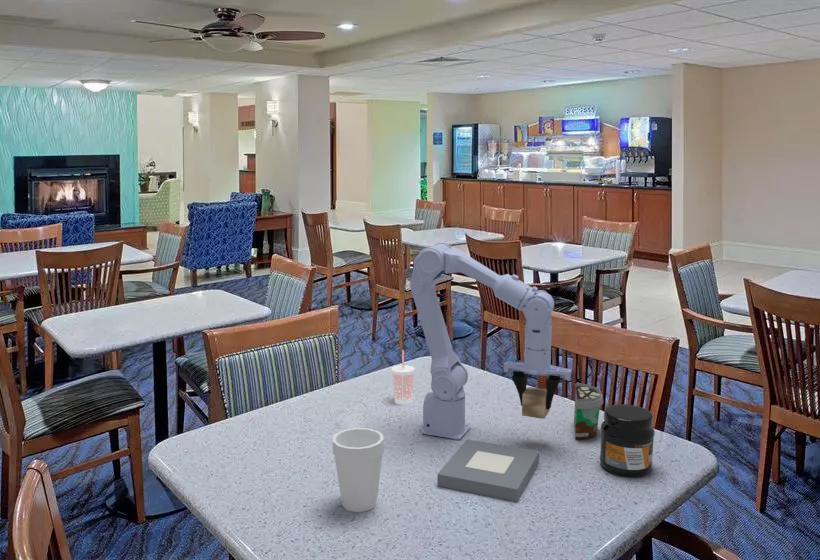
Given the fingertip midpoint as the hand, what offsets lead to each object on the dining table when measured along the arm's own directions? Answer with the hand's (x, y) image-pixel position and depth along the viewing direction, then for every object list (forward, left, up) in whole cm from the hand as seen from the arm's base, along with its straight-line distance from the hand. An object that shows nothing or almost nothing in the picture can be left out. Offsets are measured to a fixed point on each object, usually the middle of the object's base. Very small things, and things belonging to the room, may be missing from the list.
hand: (535, 406), depth 153 cm
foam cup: (-24, -39, -9) cm, 47 cm away
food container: (+10, +11, -9) cm, 17 cm away
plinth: (-5, -18, -9) cm, 21 cm away
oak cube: (0, 0, -2) cm, 2 cm away
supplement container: (+20, -4, -9) cm, 22 cm away
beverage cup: (-38, +13, -9) cm, 41 cm away
